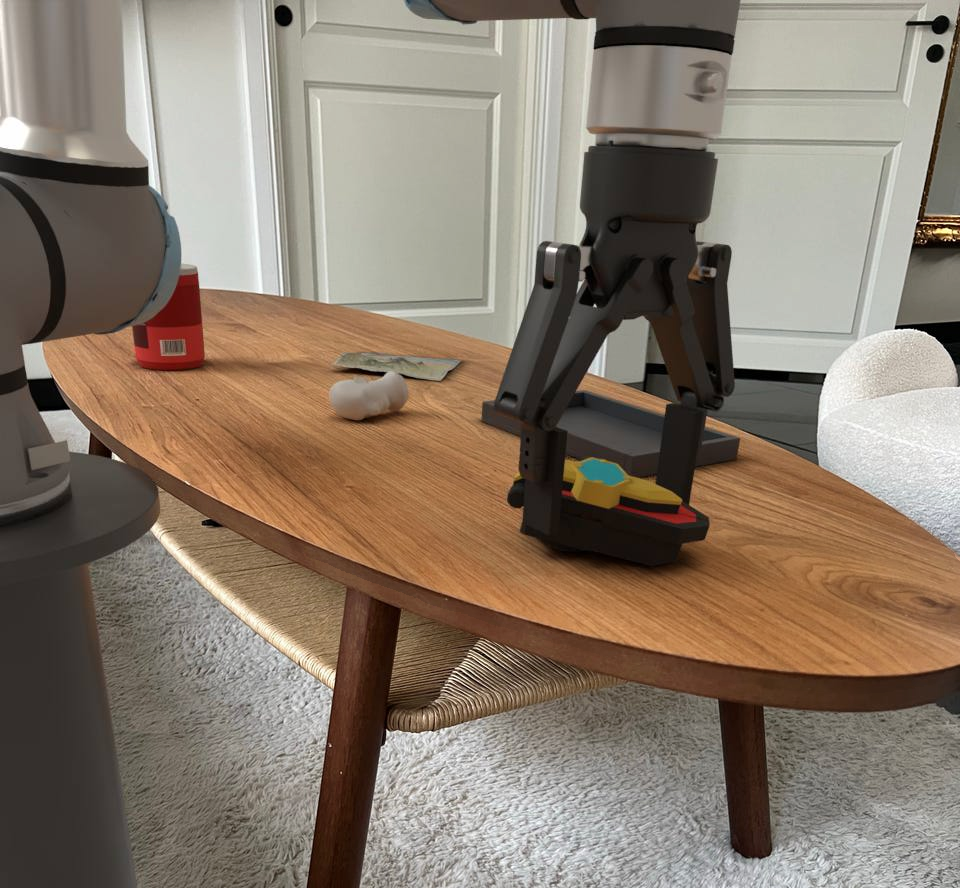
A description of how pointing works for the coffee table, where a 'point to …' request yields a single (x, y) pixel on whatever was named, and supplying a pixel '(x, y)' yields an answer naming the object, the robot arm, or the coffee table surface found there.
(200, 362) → the canned food
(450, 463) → the coffee table surface
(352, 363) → the topographic map
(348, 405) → the smooth white sculpture
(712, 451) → the dark gray tray
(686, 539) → the gadget
